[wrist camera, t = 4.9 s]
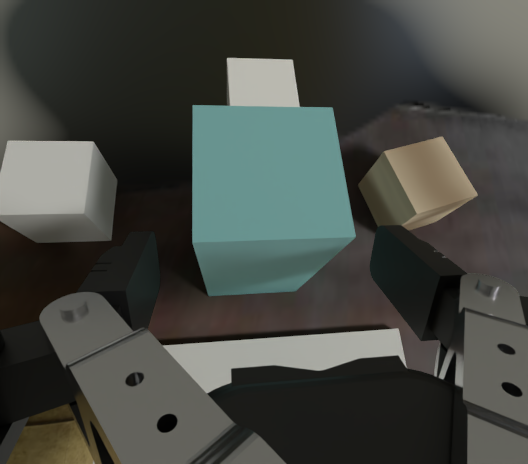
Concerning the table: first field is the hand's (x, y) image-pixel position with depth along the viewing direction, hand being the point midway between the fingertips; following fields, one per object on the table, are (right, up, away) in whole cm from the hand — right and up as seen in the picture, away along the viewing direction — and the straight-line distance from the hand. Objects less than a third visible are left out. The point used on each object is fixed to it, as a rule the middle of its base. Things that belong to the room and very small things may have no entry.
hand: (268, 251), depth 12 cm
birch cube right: (+9, +3, +10) cm, 14 cm away
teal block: (-1, 0, +8) cm, 8 cm away
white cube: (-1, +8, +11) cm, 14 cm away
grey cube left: (-11, +2, +8) cm, 14 cm away
